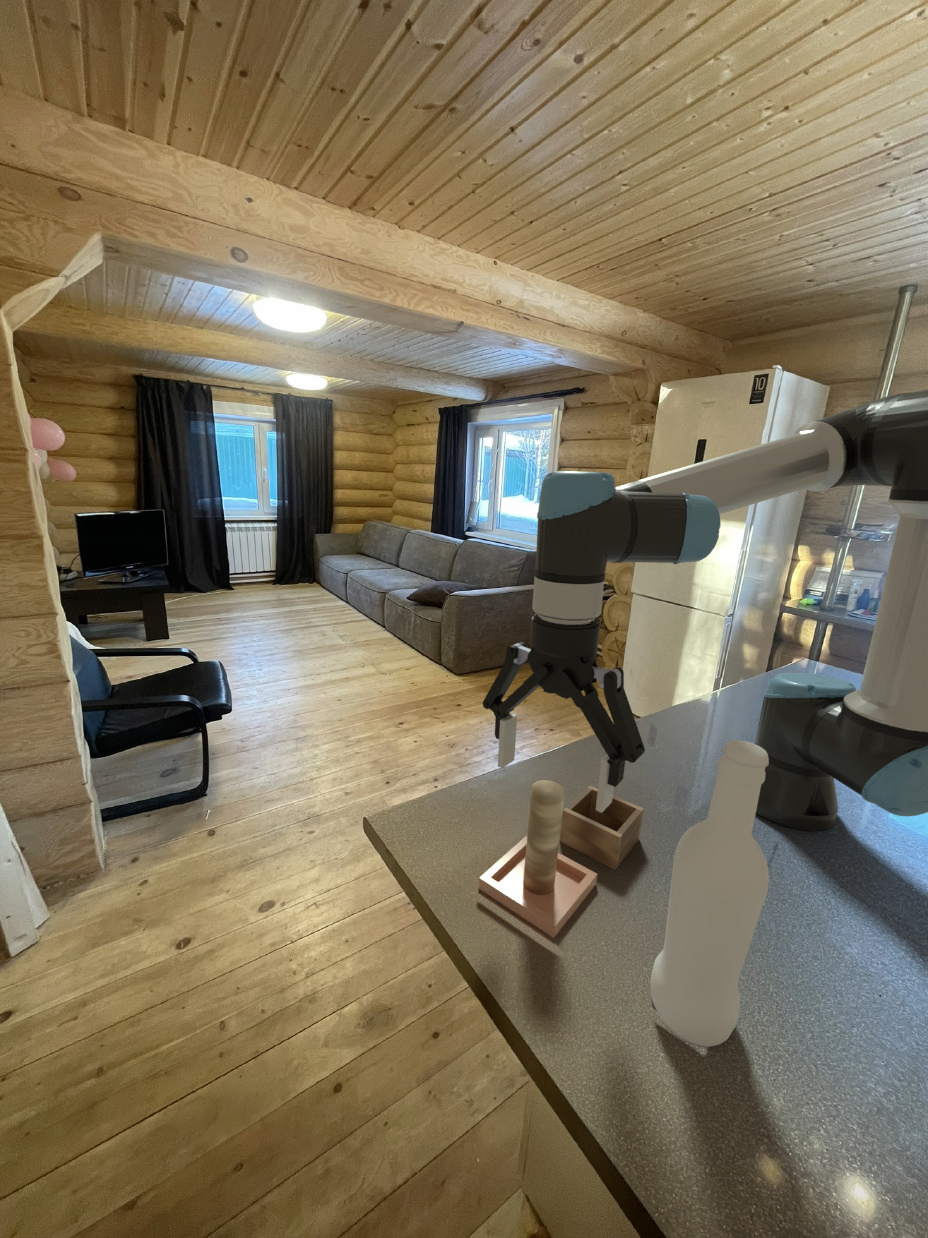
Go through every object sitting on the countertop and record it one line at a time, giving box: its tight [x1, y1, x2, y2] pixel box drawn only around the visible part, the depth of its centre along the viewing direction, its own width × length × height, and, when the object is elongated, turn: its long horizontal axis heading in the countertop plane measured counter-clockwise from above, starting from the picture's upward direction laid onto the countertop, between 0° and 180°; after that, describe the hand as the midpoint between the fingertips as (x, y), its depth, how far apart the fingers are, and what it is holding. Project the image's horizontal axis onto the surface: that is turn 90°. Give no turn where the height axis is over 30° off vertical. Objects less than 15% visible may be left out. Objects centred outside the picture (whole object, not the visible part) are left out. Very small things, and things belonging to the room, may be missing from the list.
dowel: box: [523, 779, 565, 895], centre depth 64 cm, size 4×4×14 cm
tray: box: [477, 835, 598, 944], centre depth 66 cm, size 11×11×2 cm
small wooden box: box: [559, 785, 645, 871], centre depth 75 cm, size 9×9×6 cm
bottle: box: [650, 739, 770, 1048], centre depth 49 cm, size 8×8×30 cm
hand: (551, 783), depth 63 cm, fingers open, 13 cm apart
